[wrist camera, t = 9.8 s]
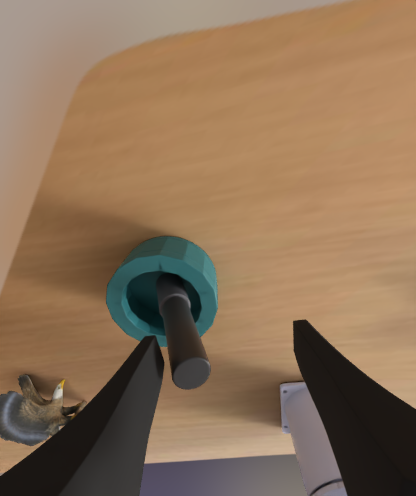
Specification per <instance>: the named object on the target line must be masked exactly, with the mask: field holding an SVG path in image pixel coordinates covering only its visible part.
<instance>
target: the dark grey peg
mask: <svg viewBox="0 0 416 496" xmlns="http://www.w3.org/2000/svg"><path fill="white" fill-rule="evenodd" d="M156 289H157V297H158V304H159V312H160V314H161V316H162V317H163V320H164V327H165V334H166V340H167V347H168V354H169V361H170V367H171V374H172V380H173V382H174V384H175V385H176V386H177V387H179V388H181V389H186V390H189V389H194V388H197V387H199V386H201V385H202V384H203V383H204V382H205V381H206V380H207V379H208V377H209V375H210V371H211V366H210V363H209V360H208V357H207V355H206V352H205V349H204V347H203V344H202V341H201V338H200V336H199V333H198V330H197V327H196V325H195V322H194V319H193V317H192V314H191V311H190V301H189V298H188V296H187V293H186V290H185V288H184V285H183V283H182V280H181V278H180V277H179V275H177V274H174V273H169V272H167V273H164V274H162V275H161V276H160V277H159V278H158V279H157V282H156Z"/></svg>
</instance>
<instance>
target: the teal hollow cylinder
mask: <svg viewBox="0 0 416 496" xmlns="http://www.w3.org/2000/svg"><path fill="white" fill-rule="evenodd" d="M167 272H169V273H174V274H177V275H179V277H180V278H181V280H182V283H183V285H184V288H185V290H186V293H187V296H188V298H189V301H190V311H191V314H192V317H193V319H194V322H195V325H196V327H197V330H198V333H199V336H200V337H201V336H202V335H203V334H204V333H205V332H206V331H207V330H208V329H209V328H210V327H211V326H212V324H213V321H214V318H215V315H216V312H217V309H218V301H217V300H218V298H217V280H216V272H215V268H214V265H213V263H212V261H211V259H210V258H209V257H208V255H207V254H206V253H205V252H204V251H203V250H202V249H201V248H200V247H198V246H197V245H195V244H194V243H192V242H190V241H188V240H185V239H182V238H178V237H171V236H163V237H156V238H152V239H149V240H147V241H145V242H143V243H141V244H140V245H138V246H137V247H136V248H135V249H133V250H132V251H131V253H130V254H129V255H128V256H127V258H126V259H125V260H124V261H123V263H122V264H121V265H120V266H119V268H118V269H117V271H116V272H115V274H114V275H113V277H112V278H111V280H110V281H109V283H108V285H107V296H106V304H107V306H108V309H109V311H110V314H111V316H112V319H113V320H114V321H115V322H116V323H117V324H118V326H119V327H120V328H121V329H122V330H123V331H124V332H125V333H126V334H127V335H129V336H131V337H133V338H135V339H137V340H139V341H141V340H142V339H143V338H144V337H145V336H152V335H156V338H157V341H158V344H159V346H161V347H167V340H166V334H165V327H164V320H163V317H162V316H161V314H160V312H159V304H158V297H157V289H156V282H157V279H158V278H159V277H160V276H161V275H162V274H164V273H167Z"/></svg>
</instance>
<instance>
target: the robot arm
mask: <svg viewBox="0 0 416 496" xmlns="http://www.w3.org/2000/svg"><path fill="white" fill-rule="evenodd" d="M293 336H294V353H295V356H296V360H297V363H298V366H299V369H300V372H301V374H302V377H303V379H304V381H305V382H296V383H283V384H281V385H280V402H281V423H282V432H283V433H286V434H287V433H291V437H292V441H293V444H294V448H295V452H296V456H297V460H298V463H299V467H300V471H301V475H302V478H303V482H304V486H305V489H306V491H307V495H308V496H416V409H415V408H413V407H412V406H410V405H409V404H407V403H406V402H404V401H402V400H401V399H399V398H398V397H396V396H395V395H393V394H392V393H390V392H389V391H388V390H386V389H385V388H383V387H382V386H381V385H379V384H378V383H376V382H375V381H374V380H372V379H371V378H370V377H368V376H367V375H366V374H365V373H363V372H362V371H361V370H360V369H358V368H357V367H356V366H355V365H354V364H352V363H351V362H350V361H349V360H348V359H346V358H345V357H344V356H343V355H342V354H341V353H340V352H339V351H338V350H336V349H335V348H334V347H333V346H332V345H331V344H330V343H329V342H328V341H327V340H326V339H325V338H324V337H323V336H322V335H321V334H320V333H319V332H318V331H317V330H316V329H315V328H314V327H313V326H312V325H311V324H310V323H309V322H308V321H307V320H297V321H293ZM164 363H165V362H164V359H163V356H162V353H161V350H160V347H159V344H158V341H157V338H156V335H152V336H145V337H144V338H143V339H142V340H141V342H140V343H139V344H138V346H137V347H136V348H135V349H134V351H133V352H132V353H131V355H130V356H129V357H128V359H127V360H126V361H125V362H124V364H123V365H122V366H121V367H120V369H119V370H118V371H117V372H116V373H115V375H114V376H113V377H112V378H111V379H110V380H109V382H108V383H107V384H106V385H105V386H104V387H103V389H102V390H101V391H100V392H99V393H98V394H97V395H96V396H95V397H94V398H93V399H92V400H91V401H90V402H89V403H88V404H87V405H86V406H85V407H84V408H83V409H82V410H81V411H80V412H79V413H78V414H77V415H76V416H75V417H74V418H72V419H71V420H70V421H69V422H68V423H67V424H66V425H65V426H64V427H63V428H61V429H60V430H59V431H58V432H57V433H56V434H54V435H53V436H52V437H51V438H50V439H49V440H47V441H46V442H45V443H44V444H42V445H41V446H40V447H39V448H37V449H36V450H35V451H34V452H32V453H31V454H30V455H28V456H27V457H26V458H24V459H23V460H22V461H20V462H19V463H18V464H16V465H15V466H14V467H12V468H11V469H10V470H8V471H7V472H5V473H4V474H3V475H1V476H0V496H139V494H140V487H141V480H142V474H143V467H144V461H145V455H146V449H147V443H148V438H149V433H150V429H151V425H152V421H153V417H154V413H155V409H156V405H157V401H158V397H159V393H160V389H161V385H162V379H163V372H164Z"/></svg>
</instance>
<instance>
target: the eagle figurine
mask: <svg viewBox="0 0 416 496" xmlns="http://www.w3.org/2000/svg"><path fill="white" fill-rule="evenodd" d="M18 381H19V385H20V387H21V390H22V392H23V396H22V395H21V394H19V393H17V392H14V391H9V392H8V393H7V394H1V395H0V435H1V436H0V437H1V438H3V439H4V440H7V441H8V440H10V441H14V442H17V443H22V444H26V445H29V446H34V445H36V444H38V443H40V442H43V440H46V439H47V438H48V437H49V435H51V436H53V435H54V434H56V433H57V432H58V431H59V430H60V427H59V426H63V425H66V424H67V423H68V422H69V421H70V420H71V419H72V418H74V417H75V416H76V415H77V414H78V413H79V412H80V411H81V410H82V409H83V408H84V406H85V405H86V403H87V402H86V401H83V402H82V403H79V404H77V405H76V406H72V407H63V393H62V392H63V385H64V382H65V380H62V381H61V382H60V383H59V384H58V386H57V387H56V389H55V391H54V394H53V397H52V400H51V401H48V400H45V399H43V398H42V397H41V396H40V395H39V393H38V392H37V390H36V389H35V388H34V386H33V384H32V382H31V380H30V378H29V376H28V375H26V376H25V375H22V376H21V375H20V376H19V378H18ZM73 413H75V415H74V416H68V415H69V414H73Z"/></svg>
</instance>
